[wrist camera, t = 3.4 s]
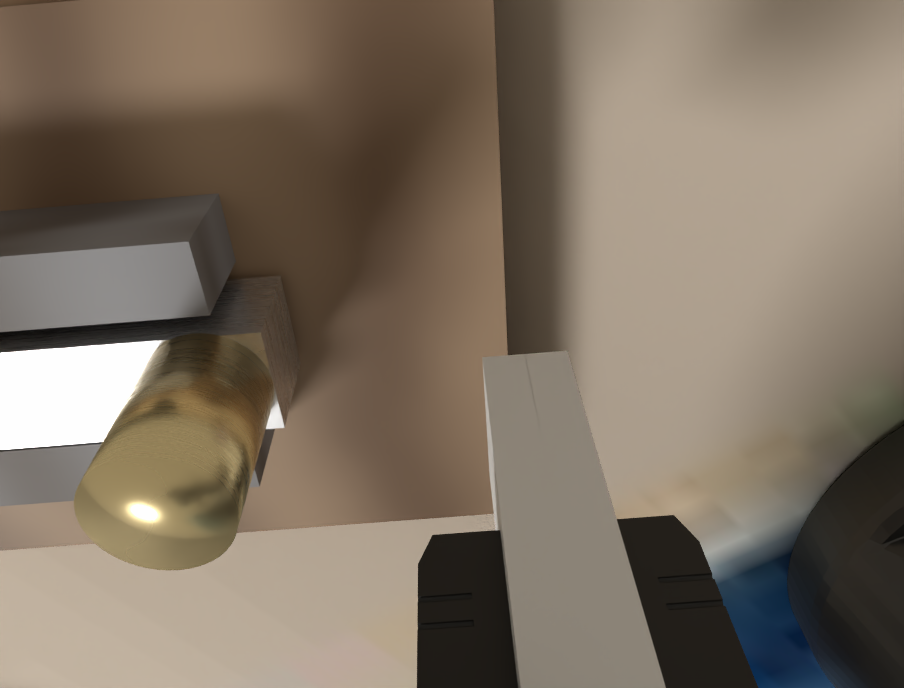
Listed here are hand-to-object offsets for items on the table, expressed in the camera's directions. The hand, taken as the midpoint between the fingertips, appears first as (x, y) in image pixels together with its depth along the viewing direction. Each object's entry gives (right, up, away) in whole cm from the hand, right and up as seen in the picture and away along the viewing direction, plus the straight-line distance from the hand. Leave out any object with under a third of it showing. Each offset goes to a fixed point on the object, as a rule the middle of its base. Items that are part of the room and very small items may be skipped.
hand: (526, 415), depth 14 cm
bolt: (-11, +1, +4) cm, 12 cm away
